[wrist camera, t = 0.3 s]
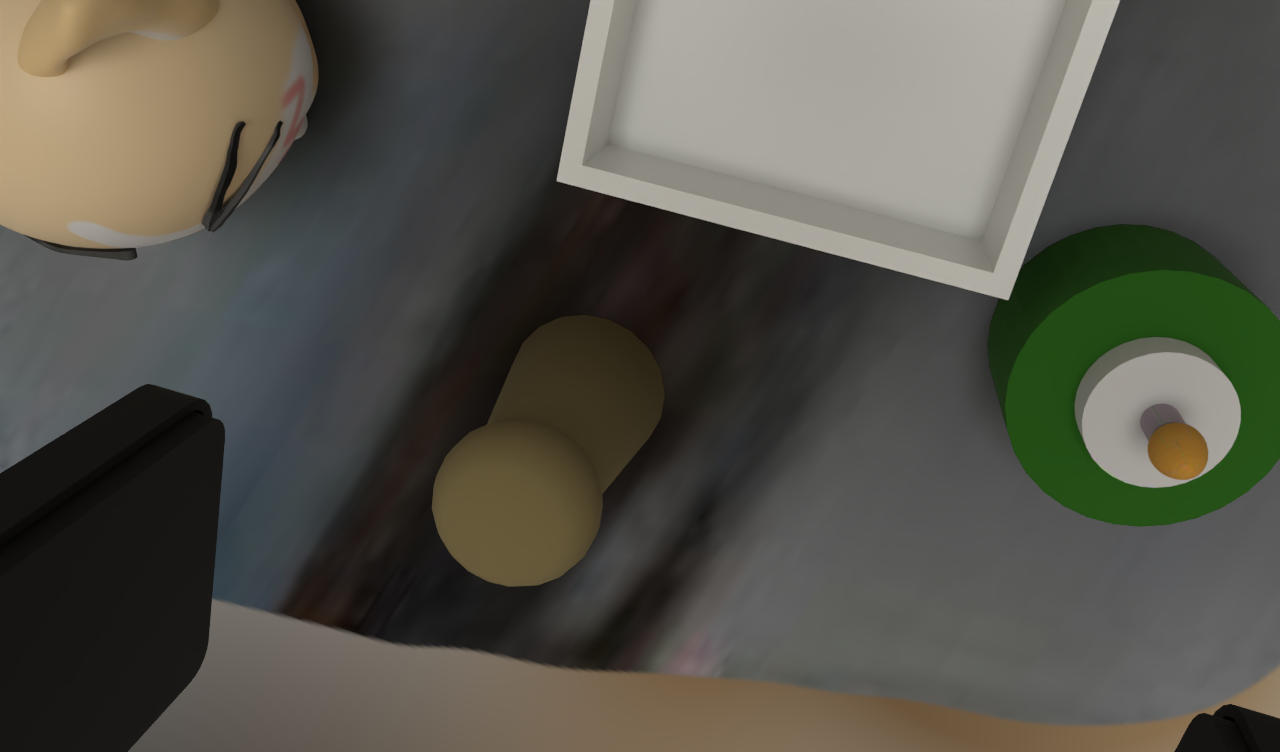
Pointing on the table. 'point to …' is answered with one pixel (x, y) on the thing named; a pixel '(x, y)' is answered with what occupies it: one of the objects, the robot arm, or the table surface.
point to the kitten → (144, 115)
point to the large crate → (840, 121)
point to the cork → (548, 452)
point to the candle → (1137, 376)
